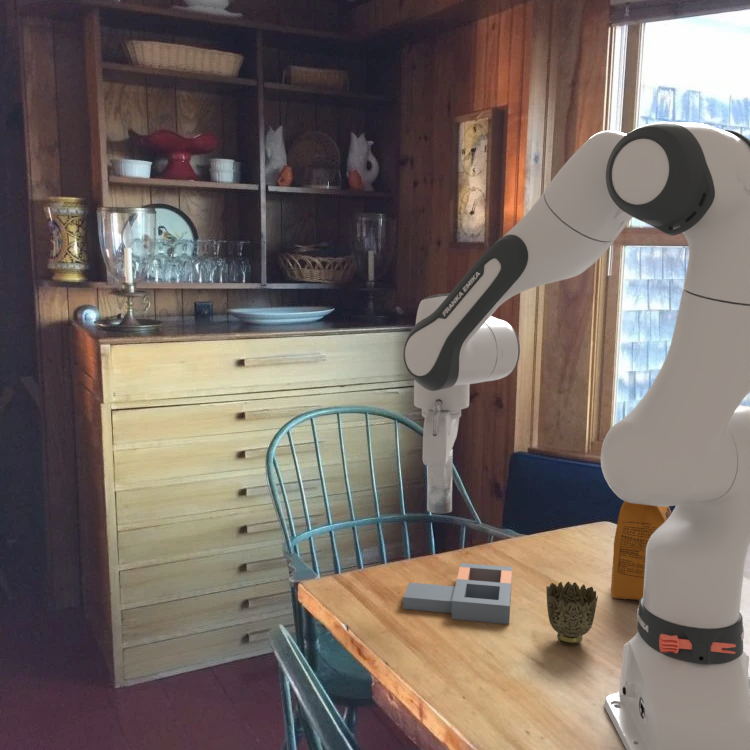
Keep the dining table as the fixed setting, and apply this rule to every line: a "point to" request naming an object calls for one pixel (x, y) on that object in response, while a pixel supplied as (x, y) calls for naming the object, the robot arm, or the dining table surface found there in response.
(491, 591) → the rack
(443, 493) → the peg
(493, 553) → the dining table surface
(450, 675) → the dining table surface
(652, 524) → the coffee package
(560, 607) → the cup
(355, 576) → the dining table surface
